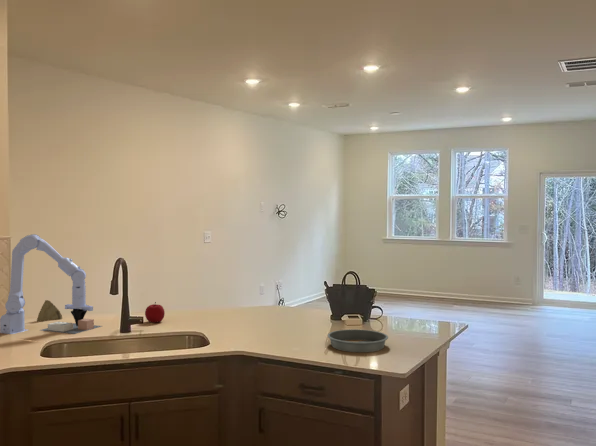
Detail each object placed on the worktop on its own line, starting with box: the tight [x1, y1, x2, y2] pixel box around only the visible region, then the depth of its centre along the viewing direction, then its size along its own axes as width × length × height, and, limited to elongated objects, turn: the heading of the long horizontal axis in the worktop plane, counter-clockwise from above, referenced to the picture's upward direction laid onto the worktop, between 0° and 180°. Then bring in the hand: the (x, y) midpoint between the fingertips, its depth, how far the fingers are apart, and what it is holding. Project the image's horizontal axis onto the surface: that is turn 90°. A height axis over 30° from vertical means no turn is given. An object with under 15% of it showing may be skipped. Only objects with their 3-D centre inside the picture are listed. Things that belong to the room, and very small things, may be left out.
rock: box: [36, 299, 63, 322], centre depth 274 cm, size 11×9×10 cm
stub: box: [78, 318, 95, 331], centre depth 254 cm, size 4×5×4 cm
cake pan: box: [327, 328, 389, 353], centre depth 228 cm, size 25×25×4 cm
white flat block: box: [47, 321, 73, 332], centre depth 252 cm, size 6×9×3 cm, turn 69°
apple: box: [144, 301, 165, 324], centre depth 273 cm, size 9×9×10 cm
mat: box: [40, 322, 103, 335], centre depth 255 cm, size 18×20×1 cm
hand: (79, 325), depth 255 cm, fingers closed
